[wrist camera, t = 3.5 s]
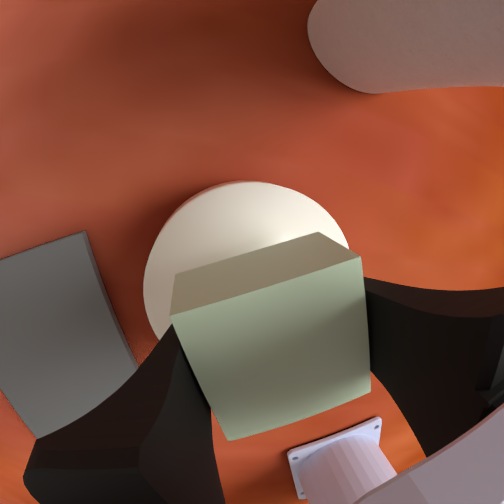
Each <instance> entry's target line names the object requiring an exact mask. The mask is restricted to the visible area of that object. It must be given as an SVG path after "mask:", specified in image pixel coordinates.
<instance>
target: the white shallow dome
mask: <svg viewBox="0 0 504 504" xmlns="http://www.w3.org/2000/svg"><path fill="white" fill-rule="evenodd" d="M315 232H320V233H322V234H324V235H325V236H327V237H329V238H330V239H332V240H334V241H336V242H337V243H339V244H341V245H342V246H344V247H346V248H348V249H349V247H348V244H347V242H346V239H345V237H344V235H343V233H342V231H341V229H340V228H339V226H338V225H337V223H336V222H335V220H334V219H333V218H332V217H331V216H330V215H329V214H328V212H327V211H326V210H325V209H323V208H322V207H321V206H320V205H319V204H317V203H316V202H315V201H313V200H312V199H310V198H308V197H307V196H305V195H303V194H301V193H299V192H296V191H294V190H292V189H289V188H285V187H281V186H278V185H274V184H270V183H266V182H261V181H253V180H239V181H231V182H225V183H221V184H218V185H215V186H211V187H209V188H207V189H205V190H203V191H201V192H198V193H197V194H195V195H194V196H192V197H191V198H189V199H188V200H186V201H185V202H184V203H183V204H182V205H180V206H179V207H178V208H177V209H176V210H175V211H174V212H173V214H172V215H171V216H170V217H169V218H168V220H167V221H166V223H165V224H164V226H163V227H162V229H161V230H160V232H159V235H158V237H157V239H156V241H155V243H154V245H153V248H152V250H151V252H150V255H149V258H148V262H147V265H146V268H145V275H144V282H143V297H144V303H145V310H146V313H147V316H148V319H149V322H150V324H151V327H152V329H153V331H154V333H155V335H156V336H157V338H158V339H159V341H160V339H161V338H162V336H163V335H164V334H165V332H166V331H167V329H168V328H169V327H170V325H171V324H172V322H171V319H170V317H169V314H170V306H171V299H172V292H173V285H174V279H175V274H177V273H181V272H184V271H187V270H191V269H194V268H197V267H201V266H204V265H207V264H211V263H214V262H217V261H221V260H224V259H227V258H231V257H234V256H238V255H241V254H244V253H248V252H251V251H254V250H258V249H261V248H264V247H268V246H271V245H274V244H278V243H281V242H285V241H288V240H291V239H295V238H298V237H301V236H305V235H308V234H311V233H315Z"/></svg>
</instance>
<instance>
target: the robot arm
mask: <svg viewBox="0 0 504 504" xmlns="http://www.w3.org/2000/svg"><path fill="white" fill-rule="evenodd" d="M363 280H364V289H365V299H366V310H367V323H368V337H369V355H370V371H371V372H372V373H373V374H374V375H375V376H376V377H377V379H378V380H379V381H380V382H381V383H382V384H383V386H384V387H385V388H386V389H387V391H388V392H389V393H390V395H391V396H392V398H393V400H394V401H395V403H396V404H397V406H398V407H399V409H400V410H401V412H402V414H403V415H404V417H405V419H406V420H407V422H408V424H409V425H410V427H411V429H412V430H413V432H414V434H415V436H416V438H417V440H418V442H419V443H420V445H421V447H422V449H423V451H424V453H425V455H426V457H427V458H426V459H424V460H422V461H421V462H419V463H417V464H415V465H414V466H412V467H410V468H408V469H406V470H404V471H402V472H401V473H399V474H398V475H397V473H396V472H395V470H394V469H393V467H392V466H391V464H390V463H389V461H388V460H387V458H386V457H385V455H384V454H383V452H382V451H381V449H380V448H379V440H380V432H381V425H382V419H381V418H380V417H375V418H373V419H370V420H368V421H366V422H363V423H361V424H359V425H356V426H354V427H352V428H349V429H347V430H344V431H342V432H339V433H337V434H334V435H331V436H329V437H326V438H323V439H320V440H318V441H315V442H312V443H309V444H306V445H303V446H300V447H297V448H294V449H291V450H289V451H288V452H287V456H288V460H289V464H290V468H291V472H292V476H293V480H294V484H295V488H296V492H297V496H298V498H299V499H305V498H307V500H308V503H309V504H504V287H500V288H493V289H484V290H467V291H447V290H433V289H423V288H416V287H410V286H404V285H399V284H394V283H389V282H385V281H380V280H376V279H371V278H366V277H363ZM23 481H24V485H25V486H26V488H27V489H28V491H29V492H30V494H31V495H32V496H33V497H34V498H35V499H36V500H37V501H38V502H39V503H40V504H226V503H225V499H224V495H223V491H222V487H221V483H220V478H219V474H218V469H217V464H216V459H215V454H214V448H213V440H212V423H211V407H210V405H209V403H208V401H207V399H206V397H205V395H204V393H203V391H202V389H201V387H200V385H199V382H198V380H197V378H196V376H195V374H194V372H193V370H192V367H191V365H190V363H189V361H188V359H187V356H186V354H185V352H184V350H183V347H182V345H181V343H180V340H179V338H178V336H177V333H176V331H175V329H174V326H173V324H171V325H170V327H169V328H168V329H167V331H166V332H165V334H164V335H163V336H162V338H161V339H160V341H159V342H158V344H157V345H156V346H155V348H154V349H153V351H152V352H151V353H150V354H149V356H148V357H147V358H146V359H145V361H144V362H143V363H142V364H141V366H140V367H139V368H138V369H137V370H136V372H135V373H134V374H133V375H132V376H131V377H130V378H129V379H128V380H127V381H126V382H125V383H124V384H123V385H122V386H121V387H120V388H119V389H118V390H116V391H115V392H114V393H113V394H112V395H110V396H109V397H108V398H107V399H105V400H104V401H103V402H102V403H100V404H99V405H98V406H97V407H95V408H94V409H92V410H91V411H89V412H88V413H86V414H85V415H83V416H82V417H80V418H78V419H77V420H75V421H73V422H72V423H70V424H68V425H66V426H64V427H62V428H60V429H58V430H56V431H54V432H52V433H50V434H48V435H46V436H43V437H41V438H39V439H37V440H36V442H35V445H34V447H33V450H32V453H31V455H30V458H29V461H28V464H27V466H26V469H25V472H24V475H23Z"/></svg>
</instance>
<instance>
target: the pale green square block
mask: <svg viewBox="0 0 504 504" xmlns="http://www.w3.org/2000/svg"><path fill="white" fill-rule="evenodd" d="M169 317H170V319H171V322H172V324H173V326H174V329H175V331H176V333H177V336H178V338H179V340H180V343H181V345H182V347H183V350H184V352H185V354H186V356H187V359H188V361H189V363H190V365H191V367H192V370H193V372H194V374H195V376H196V378H197V380H198V382H199V385H200V387H201V389H202V391H203V393H204V395H205V397H206V399H207V401H208V403H209V405H210V407H211V409H212V411H213V413H214V415H215V417H216V419H217V421H218V423H219V425H220V427H221V429H222V430H223V432H224V434H225V436H226V438H227V440H228V441H232V440H236V439H240V438H243V437H247V436H251V435H254V434H258V433H261V432H265V431H268V430H271V429H274V428H278V427H281V426H284V425H287V424H290V423H293V422H296V421H299V420H302V419H305V418H307V417H310V416H313V415H316V414H318V413H321V412H324V411H326V410H329V409H331V408H334V407H336V406H339V405H341V404H344V403H346V402H348V401H351V400H353V399H355V398H358V397H360V396H362V395H364V394H367V393H369V392H371V382H370V355H369V337H368V323H367V310H366V299H365V289H364V280H363V271H362V263H361V256H359V255H358V254H356V253H354V252H353V251H351V250H349V249H348V248H346V247H344V246H342V245H341V244H339V243H337V242H336V241H334V240H332V239H330V238H329V237H327V236H325V235H324V234H322V233H320V232H315V233H311V234H308V235H305V236H301V237H298V238H295V239H291V240H288V241H285V242H281V243H278V244H274V245H271V246H268V247H264V248H261V249H258V250H254V251H251V252H248V253H244V254H241V255H238V256H234V257H231V258H227V259H224V260H221V261H217V262H214V263H211V264H207V265H204V266H201V267H197V268H194V269H191V270H187V271H184V272H181V273H177V274H175V279H174V285H173V292H172V299H171V306H170V314H169Z"/></svg>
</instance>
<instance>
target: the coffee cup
mask: <svg viewBox="0 0 504 504" xmlns="http://www.w3.org/2000/svg"><path fill="white" fill-rule="evenodd" d="M307 30H308V37H309V41H310V44H311V47H312V49H313V51H314V53H315V55H316V57H317V58H318V60H319V61H320V62H321V64H322V65H323V66H324V68H325V69H326V70H327V71H328V72H329V73H330V74H331V75H332V76H333V77H335V78H336V79H337V80H338V81H340V82H341V83H343V84H345V85H346V86H348V87H350V88H352V89H354V90H357V91H360V92H364V93H370V94H380V93H388V92H397V91H406V90H416V89H428V88H443V87H465V86H504V0H317V2H316V3H315V5H314V6H313V8H312V10H311V12H310V14H309V18H308V24H307Z"/></svg>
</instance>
